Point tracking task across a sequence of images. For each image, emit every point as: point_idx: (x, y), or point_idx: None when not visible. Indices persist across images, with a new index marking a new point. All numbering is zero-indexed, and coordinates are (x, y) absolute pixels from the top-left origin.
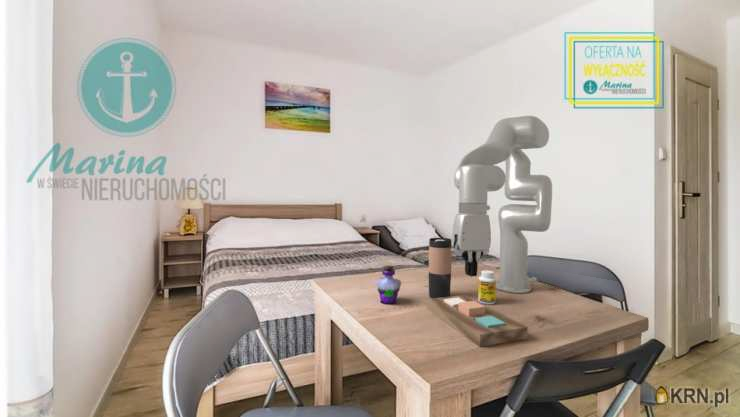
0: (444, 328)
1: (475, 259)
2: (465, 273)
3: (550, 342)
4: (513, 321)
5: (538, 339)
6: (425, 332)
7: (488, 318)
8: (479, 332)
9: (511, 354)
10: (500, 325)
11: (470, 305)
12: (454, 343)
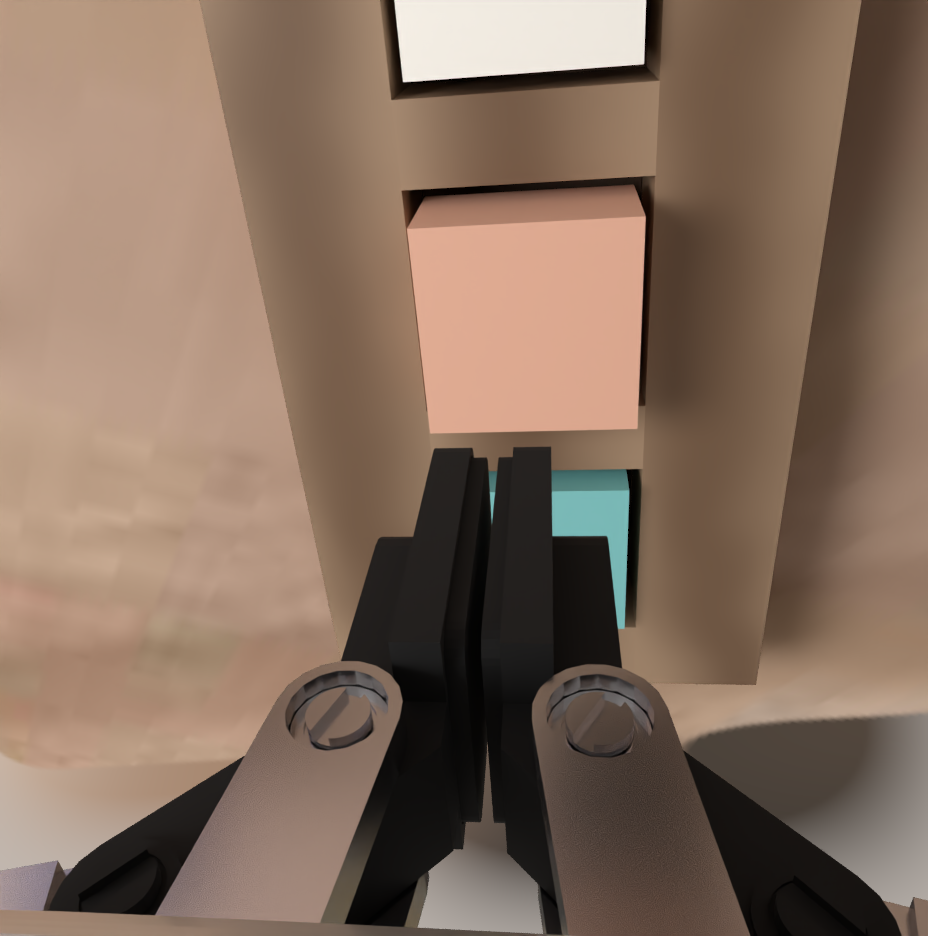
0: (231, 327)
1: (536, 877)
2: (435, 448)
3: (840, 686)
4: (744, 590)
5: (806, 643)
6: (58, 355)
7: (555, 530)
8: None
9: None
10: None
11: (499, 353)
12: (224, 548)
